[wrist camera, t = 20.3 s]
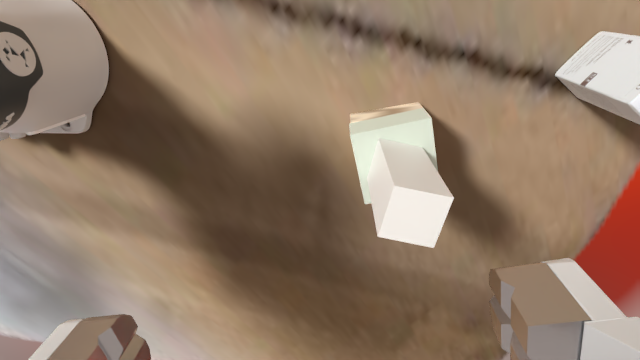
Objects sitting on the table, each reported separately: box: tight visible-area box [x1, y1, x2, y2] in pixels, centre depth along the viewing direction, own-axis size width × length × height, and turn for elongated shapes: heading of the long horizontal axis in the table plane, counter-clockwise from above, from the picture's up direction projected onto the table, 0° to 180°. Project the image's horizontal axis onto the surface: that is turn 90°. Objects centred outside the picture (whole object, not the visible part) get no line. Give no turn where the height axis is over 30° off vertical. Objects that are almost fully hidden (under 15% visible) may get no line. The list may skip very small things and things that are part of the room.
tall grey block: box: [367, 138, 454, 248], centre depth 33 cm, size 4×4×11 cm
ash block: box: [350, 102, 423, 185], centre depth 44 cm, size 8×8×4 cm
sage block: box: [349, 108, 438, 204], centre depth 40 cm, size 8×8×4 cm
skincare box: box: [555, 31, 640, 125], centre depth 35 cm, size 6×4×12 cm
